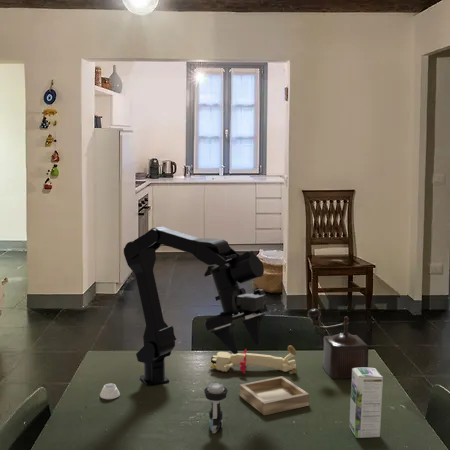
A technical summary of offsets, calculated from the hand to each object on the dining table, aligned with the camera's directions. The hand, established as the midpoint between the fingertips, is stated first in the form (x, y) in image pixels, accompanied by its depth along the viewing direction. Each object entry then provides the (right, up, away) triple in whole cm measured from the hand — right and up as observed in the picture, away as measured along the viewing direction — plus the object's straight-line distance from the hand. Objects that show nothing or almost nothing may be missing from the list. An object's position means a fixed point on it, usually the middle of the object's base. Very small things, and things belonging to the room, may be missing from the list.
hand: (247, 349), depth 152 cm
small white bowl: (-36, -14, +9) cm, 39 cm away
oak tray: (+7, -14, +7) cm, 17 cm away
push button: (-8, -17, -9) cm, 20 cm away
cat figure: (+2, -12, +28) cm, 30 cm away
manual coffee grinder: (+26, -12, +26) cm, 39 cm away
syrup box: (+26, -17, -10) cm, 33 cm away
